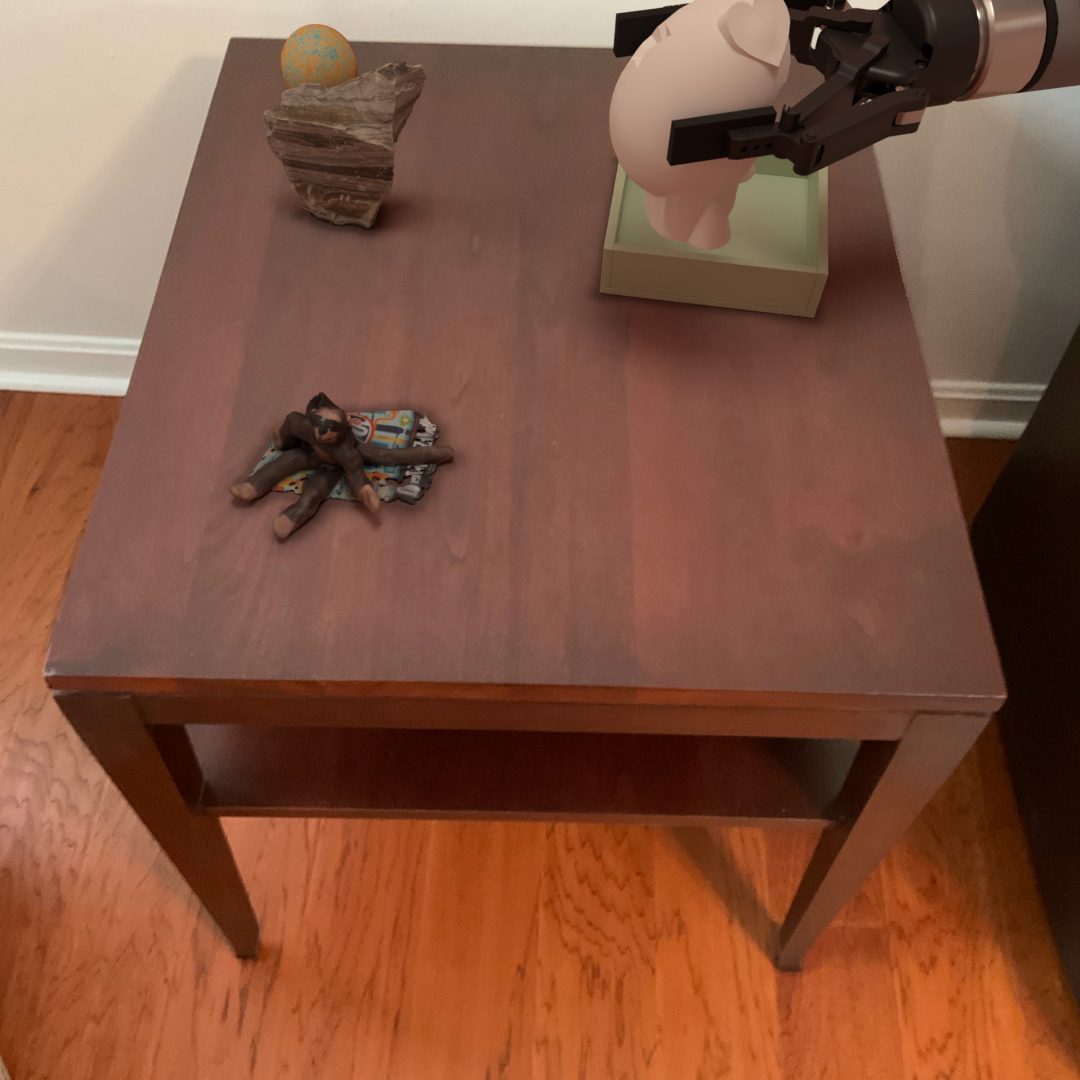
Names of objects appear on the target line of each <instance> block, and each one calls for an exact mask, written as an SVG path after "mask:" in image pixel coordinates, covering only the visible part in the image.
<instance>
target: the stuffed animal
mask: <svg viewBox="0 0 1080 1080" xmlns="http://www.w3.org/2000/svg"><path fill="white" fill-rule="evenodd" d="M421 416H422V413H420V412H418V411H413V410H412V409H411V410H410V409H409V410H405V409H400V410H385V411H383V410H377V411H374V412H370V411H355V412H352V411H351V412H345V410H343V409H342V408H341V407H339V406H338V405H337V404H335V403H334V402H333V401H332V400H331V398H329V397H328V396H327V394H326V393H325V392H323V391H320V392H318V394H316V395H314V396H312V398H311V399H310V400H309V402H308V403H307V405H306V409H305V414H304V413H302V412H301V411H297V410H296V411H295V410H294V411H291V412H290V413H288V414H287V415H286V416H285V419H284V421H283V422H279V423H278V424H277V425H275V426H274V428H273V429H272V434H271V435H272V437H273V438H272V440H271V442H270V444H269V445H268V449H267V450H266V451H265V452H264V454H263V456H262V457H261V460H260V461H259V462H258V463H257V464H256V466H255V467H254V468H253V472H252V473H250V474H249V475H248V477H247V478H246V479H245V481H244V483H237V484H233V485H231V486H229V488H228V490H229V493H230V494H231V495H232V496H233V497H234V498H236V499H238V500H240V501H241V500H242V501H245V502H250V501H253V500H254V499H258V498H261V497H262V496H264V495H265V494H266V493H268V492H270V491H273V492H277V491H278V492H286V491H291V490H292V491H293V492H294V493H295V494H298V495H300V497H299V498H298V499H297V501H296V502H294V503H292V504H290V505H289V506H288V507H286V508H285V509H283V510H282V511H281V512H280V514H279V515H278V516H276V517H275V518H274V519H273V520H272V530H273V531H272V532H273V533H274V535H276V536H277V537H278V538H280V539H285V538H286V537H288V536H289V535H290V534H291V533H292V532H294V531H295V530H297V529H298V528H299V527H301V526H302V525H303V524H305V522H306V521H307V520H308V519H310V518H311V517H313V516H314V515H315V514H316V511H317V509H318V507H319V505H320V503H321V502H322V501H323V500H326V499H329V498H332V499H338V500H340V499H341V500H344V501H345V500H346V501H348V502H351V501H355V502H361V503H362V504H363V505H364V506H365V508H367V509H368V510H369V511H370V513H371V514H374V515H377V514H379V513H380V512H381V508H382V500H383V501H384V502H393V501H394V500H397V499H399V500H401V501H402V502H407V504H410V505H411V504H412V505H414V504H415V503H416V502H415V500H420V499H421V497H423V496H424V494H425V491H427V489H429V488H430V486H431V485H430V484H431V483H432V480H433V479H432V475H431V474H433V473H435V472H436V470H437V467H438V466H439V465H440V464H441V463H443V462H446V461H449V460H450V459H451V458H452V457H453V456H454V455H455V450H454V448H453V446H451V445H437V443H435V441H436V439H438V438H439V437H440V436H439V434H438V432H439V429H438V426H437V425H436V424H433V423H431V421H430V420H429V418H428V416H426V415H423V416H424V417H423V418H421ZM419 431H425V432H423V433H422V432H421V433H420V432H419ZM273 449H274V451H272V450H273ZM411 468H414V470H410V469H411ZM421 470H422V471H421ZM423 470H424V471H423ZM409 476H411V477H410V480H409V484H407V485H404V486H399V485H393V484H390V483H389V482H387V481H386V479H394V480H396V483H402V482H404V479H405V478H407V477H409ZM374 478H376V479H379V480H374ZM303 479H306V480H303ZM291 484H293V485H291ZM423 488H424V490H425V491H423V490H422V489H423Z"/></svg>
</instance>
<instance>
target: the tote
mask: <svg viewBox="0 0 1080 1080" xmlns="http://www.w3.org/2000/svg"><path fill="white" fill-rule="evenodd" d="M819 147H820V146H819ZM793 165H794V164H793V163H792V162H791V161H790V160H788V159H779V158H776V157H775V156H774V155H768V156H761V157H757V159H756V160H755V162H754V166H755V173H754V176H753V177H752V178H751V179H750V180H748V181H746V182H744V183H739V184H738V189H737V194H736V199H735V203H734V206H733V208H732V210H731V212H730V214H729V216H728V219H729V225H730V233H731V236H730V240H729V242H728V243H727V244H726V245H725V246H723V247H721V248H718V249H713V250H706V249H700V248H697V247H695V246H693V245H691V244H690V243H689V242H684V241H673V240H670V239H668V238H666V237H663V236H661V235H660V234H659V233H658V232H657V231H656V230H655V229H654V228H653V227H652V226H651V224H650V222H649V219H648V217H647V215H646V206H645V197H646V191H645V190H644V189H642V188H641V187H640V186H638V185H637V184H636V183H635V182H634V181H633V180H632V179H631V178H630V177H629V176H628V175H627V173H626V172H625V171H624V170H623V168H622V166H621V165H620V163H619V161H618V162H617V169H616V173H615V179H614V185H613V190H612V191H613V192H612V198H611V203H610V209H609V214H608V220H607V224H606V225H607V226H606V232H605V237H604V242H603V250H602V261H601V273H600V286H599V293H600V294H607V295H615V296H622V297H623V296H624V297H632V298H633V297H634V298H640V299H650V300H657V301H664V302H665V301H666V302H674V303H682V304H683V303H684V304H692V305H700V306H709V307H716V308H725V309H734V310H742V311H751V312H759V313H768V314H777V315H785V316H794V317H802V318H811V319H814V318H815V316H816V313H817V310H818V307H819V305H820V302H821V301H820V300H821V299H822V295H823V292H824V289H825V286H826V282H827V280H828V276H829V166H827V167H825V168H823V169H821V170H818V171H816V172H814V173H812V174H810V175H807V176H800V175H797V174H796V173H795V172H794V171H793Z"/></svg>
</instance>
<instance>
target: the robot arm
mask: <svg viewBox="0 0 1080 1080" xmlns="http://www.w3.org/2000/svg"><path fill="white" fill-rule="evenodd" d="M783 1H784V3H785V5H786V6H787V9H788V13H789V16H790V27H789V36H788V37H789V41H790V55H792V56H793V57H794V58H795V61H796V62H797V63H799V64H801V65H806V66H809V67H814V68H815V69H816V70H817V71H818V72H819V73H820V74H821V75H822V76H823V78H824V82H822V83H821V84H820V85H818V86H817V87H816V88H814V89H813V90H812V91H811V92H809V93H808V94H807V95H805V97H803V98H801V99H800V101H798V102H796V104H794V105H793V106H789V105H788V106H787V104H785V103H784V104H783V106H782V109H781V113H780V119H779V121H776V120H777V115H778V112H777V110H776V108H775V107H774V106H768V107H761V108H754V109H747V110H740V111H733V112H727V113H720V114H713V115H706V116H699V117H692V118H685V119H679V120H672V122H671V129H670V137H669V144H668V151H667V161H668V163H669V165H670V166H675V165H682V164H689V163H695V162H702V161H708V160H715V159H721V158H728V159H730V160H742V159H745V158H747V159H748V158H752V157H753V158H755V157H761V156H768V155H774V156H775V157H776V158H779V159H788V160H790V161H791V162H792V163H793V164H794V165H793V171H794V172H795V173H796V174H797V175H800V176H807V175H810V174H812V173H814V172H816V171H818V170H821V169H823V168H825V167H827V166H828V167H829V166H830V165H833V164H835V163H837V162H840V161H841V160H844V159H845V158H848V157H849V156H852V155H854V154H856V153H859V152H860V151H862V150H864V149H867V148H868V147H871V146H873V145H876V144H877V143H879V142H881V141H883V140H885V139H887V138H891V137H898V136H904V135H911V134H915V133H917V132H918V131H919V127H920V126H921V122H922V119H923V117H924V114H925V111H926V110H927V109H928V108H933V107H939V106H946V105H949V104H952V103H953V102H957V103H960V102H969V101H975V100H981V99H987V98H995V97H999V96H1000V97H1001V96H1005V95H1007V96H1008V95H1015V94H1022V93H1031V92H1039V91H1046V90H1055V89H1061V88H1067V87H1068V88H1069V87H1077V86H1080V0H887V2H885V3H884V4H883V5H882V6H881V7H879V8H878V9H869V8H861V7H852V5H851V4H850V3H849V1H848V0H783ZM689 3H690V2H687V3H680V4H673V5H670V4H669V5H664V6H662V7H655V8H648V9H647V8H646V9H639V10H631V11H624V12H616V13H615V21H614V33H613V34H614V35H613V37H614V38H613V46H612V53H613V55H614V57H615V58H616V59H618V58H620V59H621V58H625V57H633V55H634V54H635V52H636V51H637V49H638V48H639V47H640V45H641V44H642V43H643V42H644V41H645V40H646V39H648V38H649V37H650V36H651V35H652V34H653V32H654V31H655V29H656V28H657V27H658V26H659V25H661V24H662V23H663V22H664V21H665V20H666V19H668V18H669V17H670V16H671V15H672V14H674V13H675V12H676V11H677V10H679V9H680V8H682V7H684V6H686V5H687V4H689ZM818 28H819V30H820V31H819V33H818V35H817V38H816V42H815V46H814V47H812V43H813V38H814V34H815V30H816V29H818ZM786 108H787V109H786ZM819 146H820V147H819Z"/></svg>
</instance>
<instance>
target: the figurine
mask: <svg viewBox="0 0 1080 1080" xmlns="http://www.w3.org/2000/svg"><path fill="white" fill-rule="evenodd" d="M688 3H689V4H687V5H686V6H684V7H682V8H680V9H679V10H677V11H676V12H675V13H674V14H672V15H671V16H670V17H669V18H668V19H666V20H665V21H664V22H663V23H662V24H661V25H659V26H658V27H657V28H656V29H655V31H654V32H653V34H652V35H651V36H650V37H649V38H648V39H646V40H645V41H644V42H643V43H642V44H641V45H640V47H639V48H638V49H637V51H636V52H635V54H634V55H633V56H631V58H630V59H629V61H628V62H627V64H626V65H625V67H624V68H623V69H622V71H621V73H620V75H619V76H618V79H617V82H616V84H615V87H614V88H613V89H614V90H613V93H612V96H611V100H610V104H609V115H608V123H609V124H608V125H609V126H608V127H609V136H610V142H611V145H612V147H613V151H614V153H615V156H616V159H617V161H618V162H619V163H620V165H621V166H622V168H623V170H624V171H625V172H626V173H627V175H628V176H629V177H630V178H631V179H632V180H633V181H634V182H635V183H636V184H637V185H638V186H640V187H641V188H642V189H644V190H645V191H646V197H645V206H646V215H647V217H648V219H649V222H650V224H651V226H652V227H653V228H654V229H655V230H656V231H657V232H658V233H659V234H660V235H661V236H663V237H666V238H668V239H670V240H673V241H684V242H689V243H690V244H691V245H693V246H695V247H697V248H700V249H706V250H713V249H718V248H721V247H723V246H725V245H726V244H727V243H728V242H729V240H730V236H731V233H730V225H729V219H728V216H729V214H730V212H731V210H732V208H733V206H734V203H735V199H736V194H737V189H738V184H739V183H744V182H746V181H748V180H750V179H751V178H752V177H753V176H754V173H755V166H754V162H755V160H756V159H757V157H755V158H753V157H752V158H748V159H747V158H745V159H742V160H730V159H728V158H721V159H715V160H708V161H702V162H695V163H689V164H682V165H675V166H670V165H669V163H668V161H667V151H668V144H669V137H670V129H671V122H672V120H679V119H685V118H692V117H699V116H706V115H713V114H720V113H727V112H733V111H740V110H747V109H754V108H761V107H768V106H773V107H774V106H775V103H776V99H777V97H778V95H779V93H780V92H781V90H782V88H783V86H784V84H785V83H786V82H787V80H788V77H789V74H790V69H791V68H790V67H791V66H792V62H791V61H792V59H791V54H790V41H789V37H788V36H789V27H790V16H789V13H788V9H787V6H786V5H785V3H784V1H783V0H693V1H691V2H688Z"/></svg>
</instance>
